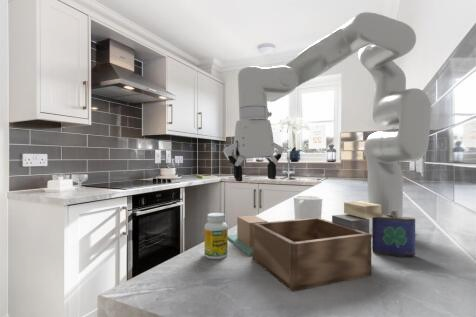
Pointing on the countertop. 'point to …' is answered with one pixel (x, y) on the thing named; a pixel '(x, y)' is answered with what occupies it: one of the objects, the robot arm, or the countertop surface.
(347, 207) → the pale gold block
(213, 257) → the supplement bottle
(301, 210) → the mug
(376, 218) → the flask
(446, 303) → the countertop surface
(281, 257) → the wooden box
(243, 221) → the lid
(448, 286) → the countertop surface
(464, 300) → the countertop surface
